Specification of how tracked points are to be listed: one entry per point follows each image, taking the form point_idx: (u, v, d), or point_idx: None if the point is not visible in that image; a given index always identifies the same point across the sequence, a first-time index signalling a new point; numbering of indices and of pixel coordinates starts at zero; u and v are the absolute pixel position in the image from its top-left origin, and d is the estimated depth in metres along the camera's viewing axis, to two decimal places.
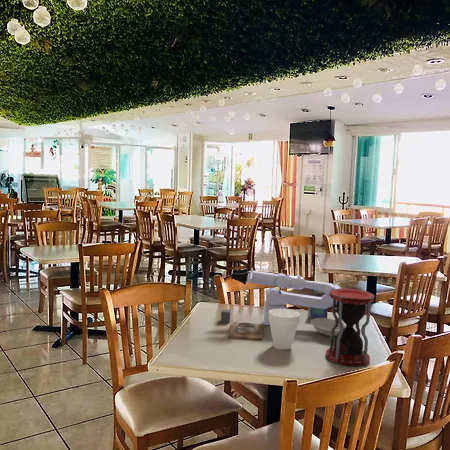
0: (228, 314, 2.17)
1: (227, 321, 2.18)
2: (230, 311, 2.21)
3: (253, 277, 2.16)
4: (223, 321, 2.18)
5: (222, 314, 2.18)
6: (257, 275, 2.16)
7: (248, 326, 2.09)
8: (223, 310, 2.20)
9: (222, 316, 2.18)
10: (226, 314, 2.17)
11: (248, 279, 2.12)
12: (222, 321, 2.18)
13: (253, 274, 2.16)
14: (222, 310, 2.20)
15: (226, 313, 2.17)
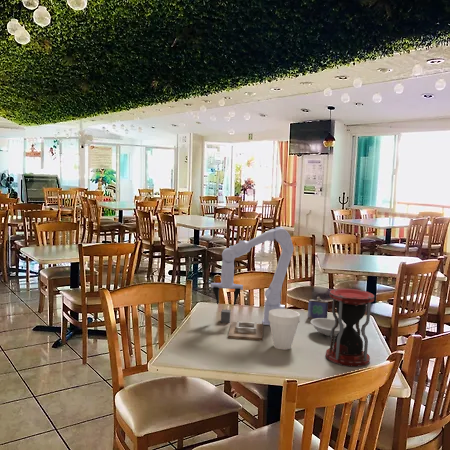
0: (228, 314, 2.17)
1: (227, 321, 2.18)
2: (230, 311, 2.21)
3: None
4: (223, 321, 2.18)
5: (222, 314, 2.18)
6: (232, 280, 2.16)
7: (248, 326, 2.09)
8: (223, 310, 2.20)
9: (222, 316, 2.18)
10: (226, 314, 2.17)
11: (242, 288, 2.17)
12: (222, 321, 2.18)
13: (231, 284, 2.16)
14: (222, 310, 2.20)
15: (226, 313, 2.17)
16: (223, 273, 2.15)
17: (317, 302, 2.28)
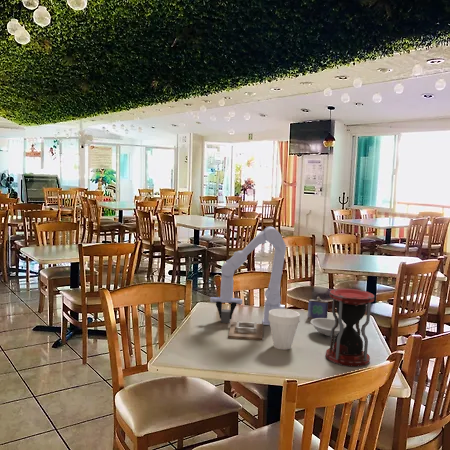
0: (228, 314, 2.17)
1: (227, 321, 2.18)
2: None
3: (232, 297, 2.18)
4: (223, 321, 2.18)
5: (222, 314, 2.18)
6: (231, 294, 2.17)
7: (248, 326, 2.09)
8: (223, 310, 2.20)
9: (222, 316, 2.18)
10: (226, 314, 2.17)
11: None
12: (222, 321, 2.18)
13: (231, 298, 2.17)
14: (222, 310, 2.20)
15: (226, 313, 2.17)
16: (222, 288, 2.16)
17: (317, 302, 2.28)
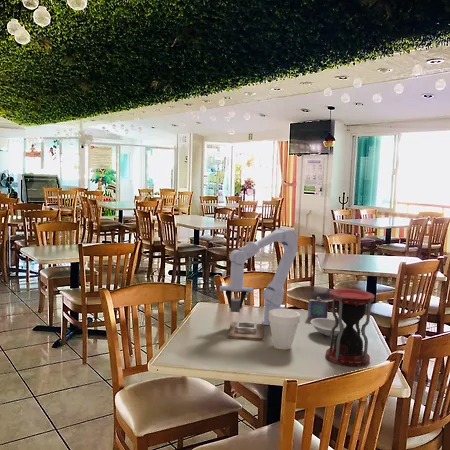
0: (238, 303, 2.10)
1: (237, 310, 2.11)
2: (240, 300, 2.14)
3: (242, 286, 2.11)
4: (233, 310, 2.11)
5: (232, 303, 2.11)
6: (241, 282, 2.10)
7: (248, 326, 2.09)
8: (233, 299, 2.13)
9: (232, 305, 2.11)
10: (236, 303, 2.10)
11: (252, 291, 2.11)
12: (232, 310, 2.11)
13: (241, 287, 2.10)
14: (232, 299, 2.13)
15: (236, 302, 2.10)
16: (234, 276, 2.09)
17: (317, 302, 2.28)
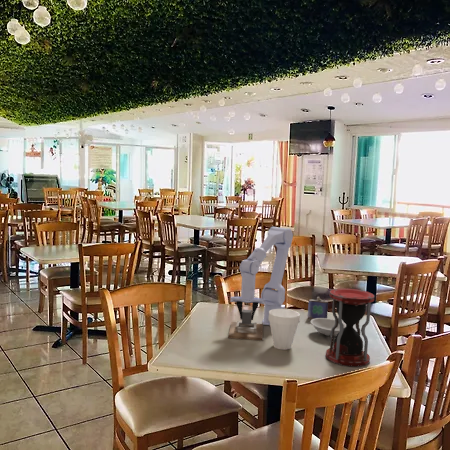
0: (250, 314, 2.03)
1: (248, 322, 2.04)
2: (251, 311, 2.06)
3: (254, 297, 2.04)
4: (244, 322, 2.04)
5: (243, 314, 2.03)
6: (253, 293, 2.03)
7: (248, 326, 2.09)
8: (244, 310, 2.06)
9: (243, 317, 2.04)
10: (247, 315, 2.03)
11: (264, 302, 2.04)
12: (243, 322, 2.04)
13: (252, 298, 2.03)
14: (243, 310, 2.06)
15: (247, 313, 2.03)
16: (249, 287, 2.01)
17: (317, 302, 2.28)
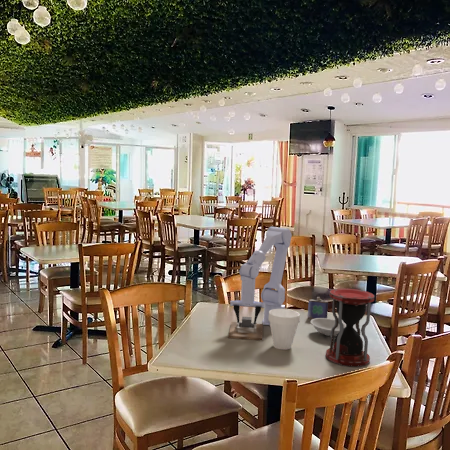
0: (249, 322, 2.04)
1: None
2: (251, 318, 2.07)
3: (254, 301, 2.04)
4: None
5: (243, 321, 2.04)
6: (253, 297, 2.03)
7: None
8: (244, 317, 2.06)
9: (243, 324, 2.04)
10: (247, 322, 2.04)
11: (264, 306, 2.04)
12: None
13: (252, 302, 2.03)
14: (243, 317, 2.06)
15: (247, 321, 2.04)
16: (249, 291, 2.01)
17: (317, 302, 2.28)
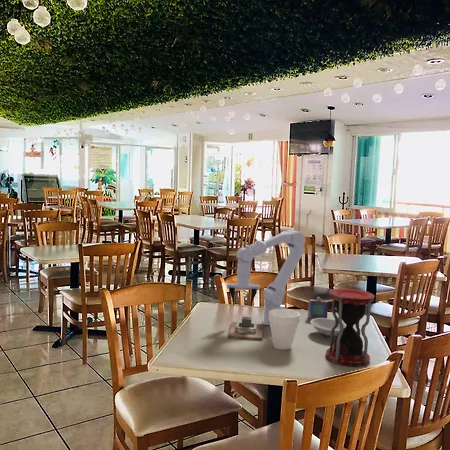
0: (249, 322, 2.04)
1: None
2: (251, 318, 2.07)
3: (249, 283, 2.12)
4: None
5: (243, 321, 2.04)
6: (248, 280, 2.11)
7: None
8: (244, 317, 2.06)
9: (243, 324, 2.04)
10: (247, 322, 2.04)
11: (259, 288, 2.12)
12: None
13: (248, 284, 2.11)
14: (243, 317, 2.06)
15: (247, 321, 2.04)
16: (241, 273, 2.10)
17: (317, 302, 2.28)
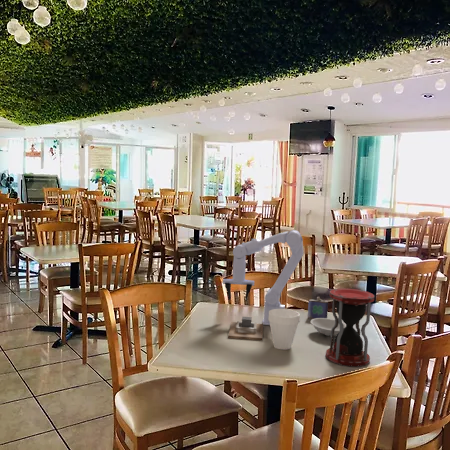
0: (249, 322, 2.04)
1: None
2: (251, 318, 2.07)
3: (244, 279, 2.21)
4: None
5: (243, 321, 2.04)
6: (244, 275, 2.20)
7: None
8: (244, 317, 2.06)
9: (243, 324, 2.04)
10: (247, 322, 2.04)
11: None
12: None
13: (243, 280, 2.20)
14: (243, 317, 2.06)
15: (247, 321, 2.04)
16: (234, 269, 2.19)
17: (317, 302, 2.28)
